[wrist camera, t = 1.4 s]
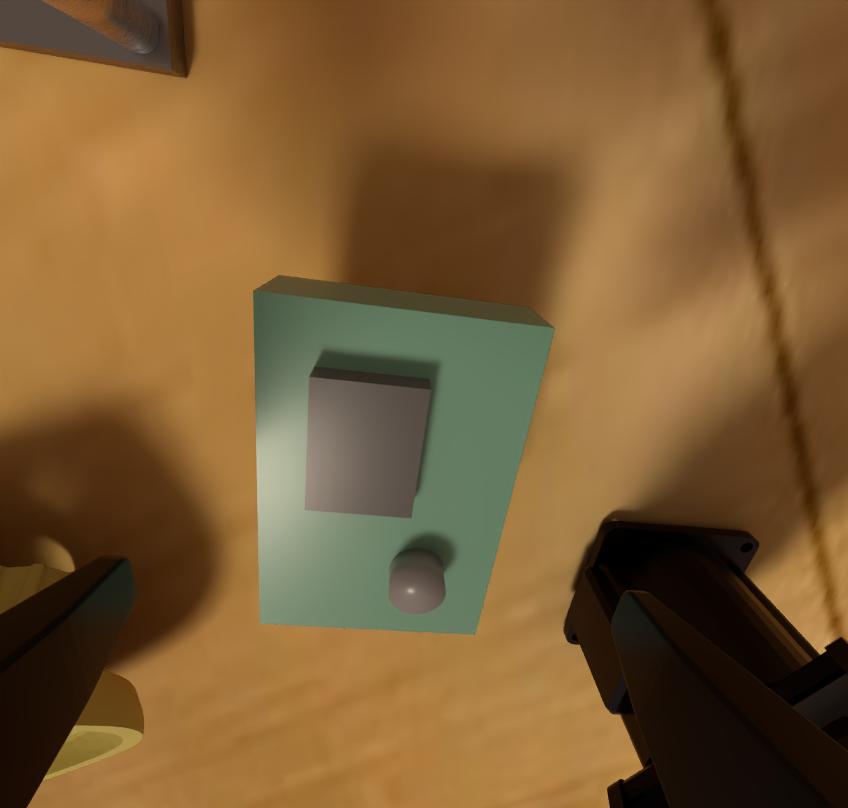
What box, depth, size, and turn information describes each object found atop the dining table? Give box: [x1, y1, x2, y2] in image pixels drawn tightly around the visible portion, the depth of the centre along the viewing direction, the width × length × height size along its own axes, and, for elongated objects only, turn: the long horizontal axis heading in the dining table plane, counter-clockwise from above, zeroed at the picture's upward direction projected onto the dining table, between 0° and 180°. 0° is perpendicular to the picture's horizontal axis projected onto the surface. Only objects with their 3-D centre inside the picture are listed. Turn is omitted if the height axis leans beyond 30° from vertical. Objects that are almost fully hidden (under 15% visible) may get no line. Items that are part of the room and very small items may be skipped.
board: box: [253, 275, 555, 635], centre depth 11 cm, size 6×9×3 cm, turn 172°
